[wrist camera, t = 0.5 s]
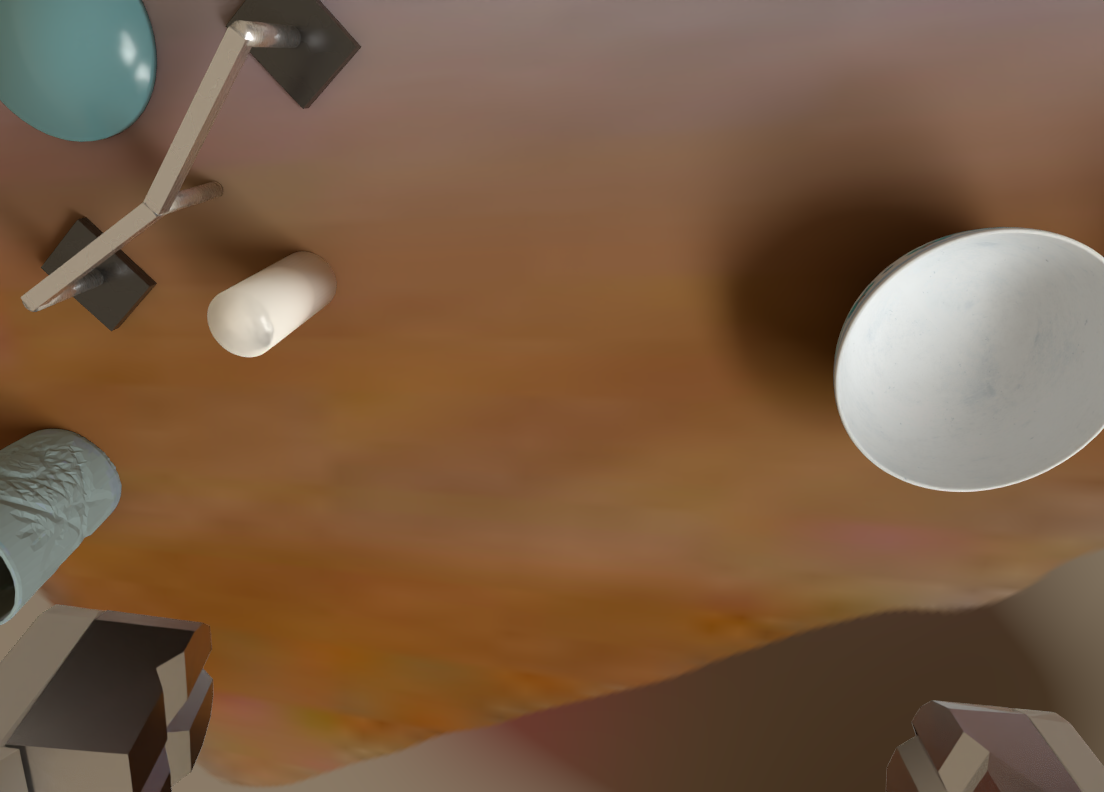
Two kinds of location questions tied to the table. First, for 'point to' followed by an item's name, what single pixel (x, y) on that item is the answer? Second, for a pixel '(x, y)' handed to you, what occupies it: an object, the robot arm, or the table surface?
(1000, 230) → the chinaware
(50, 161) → the table surface
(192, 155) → the bent bar stand
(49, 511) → the grey-green open cylinder
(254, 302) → the salt shaker
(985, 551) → the table surface
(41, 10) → the saucer
